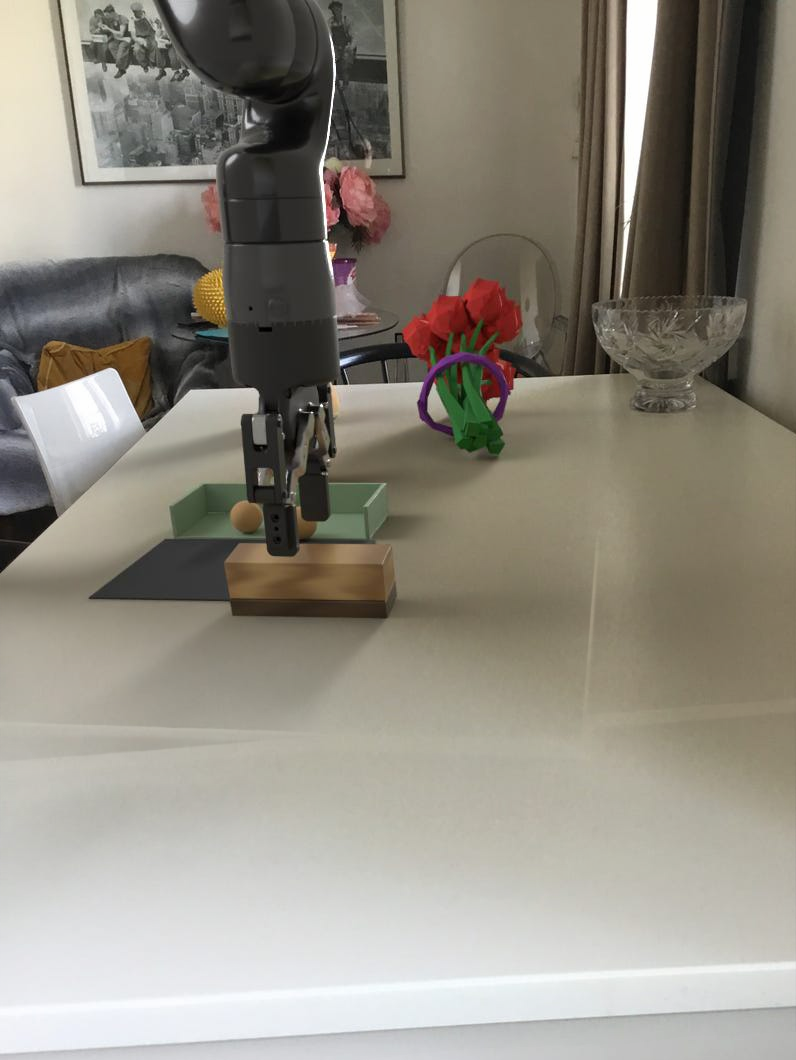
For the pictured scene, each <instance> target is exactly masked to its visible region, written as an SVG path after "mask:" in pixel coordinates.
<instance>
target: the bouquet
mask: <svg viewBox="0 0 796 1060" xmlns="http://www.w3.org/2000/svg"><path fill="white" fill-rule="evenodd" d="M515 305H516V300H515V299H507V295H506V285H504V286H502V287H500V281H495V280H486V279H483V278H481V277H477V278H476V281H475V283H474V281H473V280H472V281H471V283H470V286H469V288H468V290H467V292H466V293H465V294H464V295H463V297H462V295H446V294H438V298H437V300H436V299H435V298H433V302H432V305H431V308H430V309H429V312H428V313H424V312H423V311H421V313H420V316H419V317H418V316H417V315H414V317H413V318H412V320H411V321H410V322H409V323H408V324H407V325H406V326H405V327H404V328H403V329H402V330H401V333H402V336H403V337H402V339H403V340H404V343H406V344H407V345H408V347H409V349H410V351H411V354H412V355H413V356H415V357H417V358H418V360H419V361H424V362H425V363H426V364H427V367H428V369H429V371H428V373H427V374H426V376H425V377H424V381H423V383H422V385H421V390H420V393H419V397H418V399H417V401H416V404H417V410H418V416H419V419H420V420H421V422H424V423H425V424H427V426H428V427H430V428H431V429H432V430H435V431H438V432H441V433H443V434H446V435H448V436H452V437H453V438H454V443H455V446H456V447H458V448H459V449H460V450H461V451H462V450H465V451H467V452H468V453H469V454H471V453H472V452H476V451H479V450H480V449H482V448H484V447H486V449H487V451H488V452H489V454H491V455H496V456H497V455H499V456H500V454H501V452H502V450H503V449H504V447H505V445H506V442H505V441H504V440H503V439H502V438H501V437H503V436H504V431H503V430H502V428H501V427H500V425H499V423H498V422H499V421H500V420H502V419H503V416H504V413H505V409H506V405H507V402H508V399H509V396H511V394H512V391H513V390H514V388H515V387H514V386H515V385H514V383H515V382H514V381H515V375H516V371H517V368H516V367H513V366H512V365H513V363H511V362H509V361H506V360H503V359H500V351H501V350H500V348H495V347H496V344H497V345H502V344H503V343H509V342H512V341H513V340H514V339H515V338H516V337H517V336H519V335H520V334H521V332H522V330H520V329H521V328H523V326H524V322H523V320H522V310H521V304H518V305H516V306H515ZM433 385H435V390H436V392H437V395H438V397H439V399H440V401H441V403H442V405H443V407H444V409H445V412H446V414H447V416H448V419H449V420H450V424H451V426H450V425H446V424H443V423H439V422H437V421H434V419H433V418H432V416H431V415H430V413H429V411H428V409H429V407H428V405H429V404H428V403H429V396H430V394H431V391H432V388H433ZM492 399H499V402H498V403H497V405H496V408H495V409H494V411H493V413H492V411H491V410H490V408H489V407H488V401H490V400H492Z"/></svg>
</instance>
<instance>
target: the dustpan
mask: <svg viewBox="0 0 796 1060" xmlns="http://www.w3.org/2000/svg"><path fill="white" fill-rule="evenodd" d="M328 483H329V496H330V510H331V515H330V517H329V518H328V519H327V520H326V521H324V522H317V529H316V531H315V533H314V534H313V535H312V536H311V537H309V538H307V539H306V540H372V538H373V536H374V535H375V534H376V532H377V531H378V530H380V528H381V527H382V526H383V524H384V523H385V521H386V520H387V518H388V517H389V515H388V514H389V502H388V501H389V500H388V487H387V483H386V482H328ZM270 485H272V486H274V482H270ZM241 501H248V499H247V490H246V482H201V483H199V484H198V485H197V486H195V487H194V488H192V489H191V490H190V491H188V492H187V493H185V494H184V495H183V496H181V497H179V498H177V500H175V501H174V502H173V503H171V504H170V505H169V506H168V507H169V515H170V522H171V527H172V533H173V539H266V536H265V526H264V516H263V521H262V524H261V526H260V527H259V528H258V529H257V530H255V531H253V532H250V533H244V532H241V531H239V530H237V529H236V528H235V527H234V526H233V524H232V522H231V519H230V514H231V510H232V508H233V507H234V506H235V505H236V504H237V503H239V502H241ZM256 504H257V505H258V506H259V507H260V509H261V510H262V513H263V505H259V504H258V503H256ZM295 504H296V507H300V496H299V484H298V483H297V491H296V500H295Z"/></svg>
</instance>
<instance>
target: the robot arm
mask: <svg viewBox="0 0 796 1060" xmlns="http://www.w3.org/2000/svg"><path fill="white" fill-rule="evenodd" d="M152 2H153V5H154V7H155V9H156V12H157V14H158V16H159V19H160V21H161V24H162V26H163V28H164V31H165V33H166V35H167V37H168V39H169V40H170V43H171V44H172V46H173V48H174V50H175V52H176V53H177V54H178V55H179V57H180V59H181V60H182V61H183V62H184V64H185V65H186V66H187V68H188V69H189V70H190V71H191V72H192V73H193V74H194V75H195V77H197V79H199V80H200V81H201V83H203V85H205V86H207V87H208V88H209V89H211V90H212V91H214V92H216V93H217V94H220V95H221V96H225V97H227V98H232V99H238V100H242V109H241V123H240V135H239V140H238V142H237V143H235V144H234V145H231V146H229V147H228V148H226V149H225V150H223V151H222V152H221V153H220V154H219V156H218V159H217V161H216V167H215V183H216V185H215V187H216V194H217V205H218V215H219V223H220V232H221V233H220V235H221V241H222V242H223V243H222V245H221V247H222V267H221V268H222V269H221V273H222V276H221V277H222V278H221V280H222V291H223V300H224V309H225V310H224V311H225V318H226V327H227V329H226V330H227V337H228V347H229V355H230V367H231V374H232V378H233V380H234V382H235V383H236V384H238V385H240V386H241V387H242V386H243V387H245V388H251V387H252V388H254V389H255V390H256V391H257V392H258V393H257V394H258V395H259V396H258V411H257V412H255V413H243V414H242V415H241V418H240V428H241V429H240V430H241V441H242V453H243V454H242V455H243V465H244V477H245V483H246V490H247V499H248V502H249V503H258V504H259V505H263V516H264V526H265V536H266V546H267V552H268V553H269V554H270V555H271V556H278V557H293V556H295V555H296V554H297V553H298V552H299V550H300V545H299V533H298V522H297V510H296V504H295V500H296V491H297V482H298V484H299V496H300V507H301V517H302V518H303V520H305V521H316V522H324V521H326V520H327V519H328V518H329V517H330V515H331V514H332V513H331V510H330V496H329V483H330V482H329V472H331V468H332V466H333V465H332V460H331V459H335V458H336V455H337V452H338V451H337V450H338V449H337V444H336V432H335V420H334V419H335V418H333V408H332V396H331V392H332V389H331V386H330V382H331V383H333V382H335V381H336V380H338V378H339V377H340V375H341V360H340V359H341V358H340V345H339V344H340V343H339V330H338V329H339V328H338V314H337V302H336V301H337V299H336V288H335V287H336V286H335V285H336V284H335V276H334V275H335V274H334V268H333V264H332V259H331V252H330V247H329V241H328V239H329V237H328V235H329V234H328V222H327V210H326V209H327V207H326V206H327V205H326V198H325V197H326V193H325V187H324V186H325V185H324V177H323V175H324V173H323V172H324V165H325V158H326V154H327V148H328V143H329V136H330V127H331V119H332V110H333V102H334V95H335V83H336V82H335V81H336V63H335V62H336V61H335V50H334V44H333V43H334V42H333V37H332V34H331V30H330V26H329V24H328V20H327V18H326V16H325V13H324V11H323V9H322V8H321V6H320V5H319V3H318V2H317V1H316V0H152ZM272 478H273V483H274V486H272V485H270V483H272V482H271V481H272Z"/></svg>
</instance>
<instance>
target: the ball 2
mask: <svg viewBox="0 0 796 1060" xmlns="http://www.w3.org/2000/svg"><path fill="white" fill-rule="evenodd" d="M296 510H297V522H298V533H299V540H308V539H307V538H309V537H311V536H312V535H313V534H314V533H315V531H316V529H317V522H316V521H305V520H303V518H302V517H301V507H296Z"/></svg>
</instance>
